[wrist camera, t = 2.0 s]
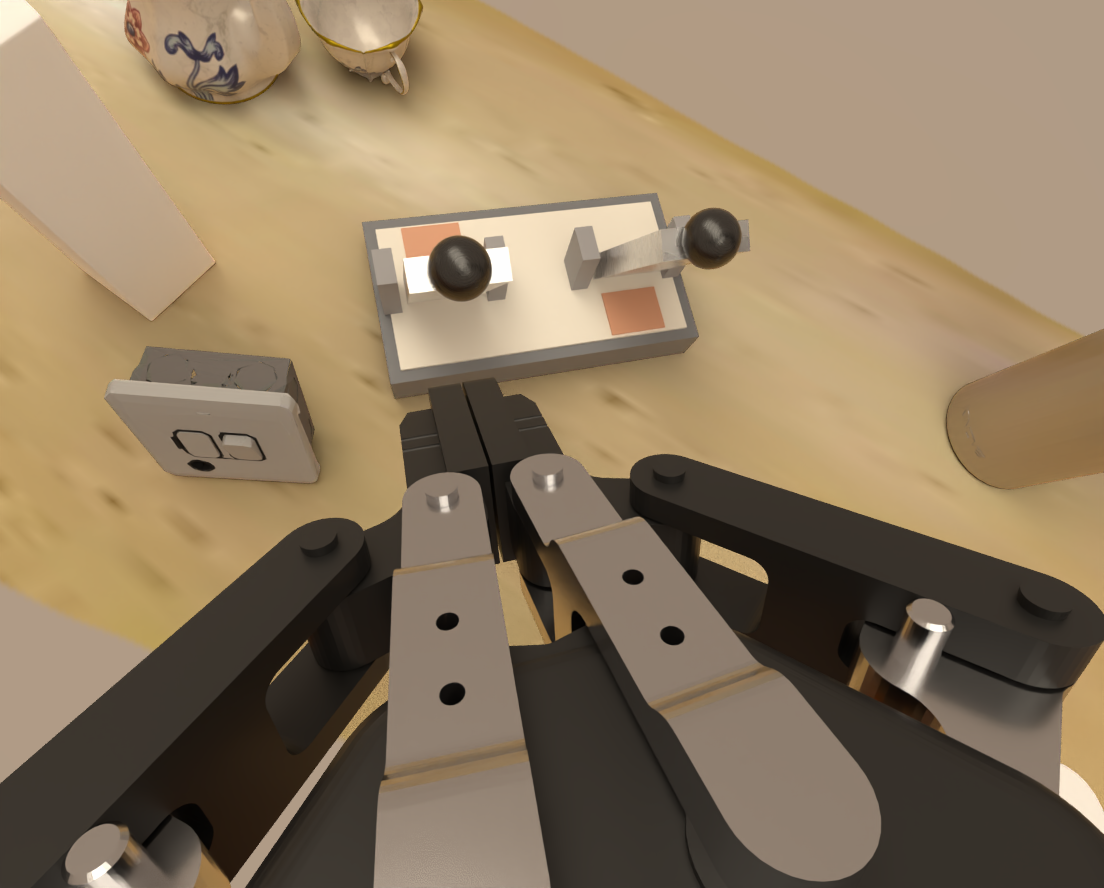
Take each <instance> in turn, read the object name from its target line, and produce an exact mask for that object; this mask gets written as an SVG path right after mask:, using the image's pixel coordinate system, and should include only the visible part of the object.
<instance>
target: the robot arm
mask: <svg viewBox="0 0 1104 888" xmlns="http://www.w3.org/2000/svg"><path fill="white" fill-rule="evenodd" d="M462 389H463V390H462ZM428 394H429V400H430V406H431V409H428V410H422V411H416V412H410V413H407V415H406V416H405V418H404V420H403V421H402V423H401V424H400V434H401V441H402V450H403V458H404V467H405V475H406V483H407V490H406V492H405V494H404V496H403V500H402V508H401V509H400V510H399V511H398V512H397V513H396V514H395V515H394V516H393V517H391V518H390V519H388V520H386V521H385V522H383V523H381V524H379V525H377V526H374V527H372V528H369V529H367V530H365V531H363V529H362V528H361V527H360V526H359V525H358V524H357V523H355V522H354V521H351V520H348V519H343V518H327V519H321V520H317V521H313V522H311V523H308V524H305V525H303V526H301V527H299V528H297V529H296V530H294V531H292V532H291V533H290V534H289V535H287V536H286V537H285V538H284V539H283V540H281V541H280V542H279V543H278V544H277V545H276V546H275V547H273V548H272V549H271V550H270V551H269V552H268V553H266V554H265V555H264V556H263V557H262V558H261V559H259V560H258V561H257V562H256V563H255V564H254V565H253V566H251V567H250V568H249V569H248V570H247V571H246V572H244V573H243V574H242V575H241V576H240V577H239V578H237V579H236V580H235V581H234V582H233V583H232V584H231V585H229V586H228V587H227V588H226V589H225V590H224V591H222V592H221V593H220V594H219V595H218V596H217V597H216V598H214V599H213V600H212V601H211V602H210V603H209V604H207V605H206V606H205V607H204V608H203V609H202V610H200V611H199V612H198V613H197V614H196V615H195V616H194V617H192V618H191V619H190V620H189V621H188V622H187V623H185V624H184V625H183V626H182V627H181V628H180V629H178V630H177V631H176V632H175V633H174V634H173V635H172V636H170V637H169V638H168V639H167V640H166V641H165V642H163V643H162V644H161V645H160V646H159V647H158V648H157V649H155V650H154V651H153V652H152V653H151V654H150V655H148V656H147V657H146V658H145V659H144V660H143V661H141V662H140V663H139V664H138V665H137V666H136V667H135V668H133V669H132V670H131V671H130V672H129V673H128V674H126V675H125V676H124V677H123V678H122V679H121V680H120V681H119V682H117V683H116V684H115V685H114V686H113V687H111V688H110V689H109V690H108V691H107V692H106V693H104V694H103V695H102V696H101V697H100V698H99V699H98V700H96V702H94V703H93V704H92V705H91V706H89V707H88V708H87V709H86V710H85V711H84V712H83V713H81V714H80V715H79V716H78V717H77V718H76V719H74V720H73V721H72V722H71V723H70V724H69V725H67V726H66V727H65V728H64V729H63V730H62V731H60V732H59V733H58V734H57V735H56V736H55V737H54V738H52V740H50V741H49V742H48V743H47V744H45V745H44V746H43V747H42V748H41V749H40V750H39V751H37V752H36V753H35V754H34V755H33V756H32V757H30V758H29V759H28V760H27V761H26V762H25V763H23V764H22V765H21V766H20V767H19V768H18V769H17V770H15V771H14V772H13V773H12V774H11V775H10V776H9V777H7V778H6V779H5V780H4V781H3V782H1V784H0V888H231V885H230V882H231V881H232V880H233V878H234V877H235V875H236V874H237V873H238V871H239V870H240V868H241V867H242V866H243V865H244V863H245V862H246V861H247V859H248V858H249V856H250V855H251V854H252V853H253V851H254V850H255V849H256V847H257V846H258V845H259V843H260V842H261V840H262V839H263V838H264V836H265V835H266V834H267V832H268V831H269V830H270V828H271V827H272V826H273V824H274V823H275V822H276V820H277V819H278V818H279V816H280V815H281V813H282V812H283V811H284V809H285V808H286V807H287V805H288V804H289V803H290V801H291V800H292V798H293V797H294V796H295V795H296V793H297V792H298V791H299V789H300V788H301V787H302V785H303V784H304V782H305V781H306V780H307V778H308V777H309V776H310V774H311V773H312V772H313V770H314V769H315V768H316V766H317V765H318V764H319V762H320V761H321V760H322V758H323V757H324V756H325V754H326V753H327V751H328V750H329V749H330V748H331V746H332V745H333V744H334V742H335V741H336V739H337V738H338V737H339V735H340V734H341V733H342V731H343V730H344V729H345V727H346V726H347V725H348V723H349V722H350V721H351V719H352V718H353V717H354V715H355V714H356V713H357V711H358V710H359V709H360V707H361V706H362V704H363V703H364V702H365V700H366V699H367V698H368V696H369V695H370V694H371V692H372V691H373V690H374V688H375V687H376V686H377V684H378V683H379V682H380V680H381V679H382V678H383V676H384V675H385V674H386V672H387V671H388V669H389V691H388V700H387V701H386V702H385V703H384V704H382V705H381V706H380V707H378V708H377V709H376V710H375V711H373V712H372V713H371V714H370V715H369V716H368V717H367V718H366V719H365V720H364V721H363V722H362V723H361V724H360V725H359V726H358V727H357V728H356V730H355V731H354V732H353V733H352V734H351V735H350V736H349V738H348V739H347V740H346V742H345V743H344V744H343V746H342V747H341V749H340V750H339V752H338V753H337V755H336V756H335V758H334V759H333V760H332V762H331V763H330V765H329V766H328V768H327V769H326V771H325V772H324V773H323V775H322V776H321V778H320V779H319V781H318V782H317V784H316V785H315V787H314V788H313V789H312V791H311V792H310V794H309V795H308V797H307V798H306V800H305V801H304V803H303V804H302V806H301V807H300V808H299V810H298V811H297V813H296V814H295V816H294V817H293V819H292V820H291V822H290V823H289V824H288V826H287V827H286V829H285V830H284V832H283V833H282V835H281V836H280V838H279V839H278V841H277V842H276V843H275V845H274V846H273V848H272V849H271V851H270V852H269V854H268V855H267V857H266V858H265V859H264V861H263V862H262V864H261V866H260V867H259V868H258V870H257V871H256V873H255V874H254V876H253V877H252V879H251V880H250V881H249V883H248V884H247V886H246V887H245V888H1104V834H1103V833H1102V832H1101V831H1100V830H1099V829H1098V828H1097V827H1096V826H1095V825H1094V824H1093V823H1092V822H1091V821H1090V820H1088V819H1087V818H1086V817H1085V816H1084V815H1083V814H1082V813H1081V812H1080V811H1078V810H1077V809H1076V808H1075V807H1073V806H1072V805H1071V804H1069V803H1068V802H1067V801H1066V800H1064V799H1063V798H1062V797H1060V796H1059V786H1060V756H1061V726H1062V702H1063V701H1064V699H1065V698H1066V696H1067V695H1068V693H1069V692H1070V690H1071V689H1072V687H1073V686H1074V684H1075V683H1076V681H1077V680H1078V678H1079V677H1080V675H1081V674H1082V672H1083V671H1084V669H1085V668H1086V666H1087V665H1088V663H1089V662H1090V660H1091V659H1092V657H1093V656H1094V654H1095V653H1096V651H1097V650H1098V648H1099V647H1100V645H1101V644H1102V643H1103V641H1104V614H1103V613H1102V611H1101V610H1100V609H1099V608H1098V606H1097V605H1096V604H1095V603H1094V602H1093V601H1092V600H1091V599H1089V598H1088V597H1087V596H1086V595H1084V594H1083V593H1082V592H1080V591H1078V590H1077V589H1075V588H1074V587H1072V586H1070V585H1068V584H1067V583H1065V582H1063V581H1061V580H1058V579H1056V578H1054V577H1051V576H1048V575H1046V574H1043V573H1040V572H1037V571H1034V570H1031V569H1027V568H1024V567H1021V566H1018V565H1015V564H1012V563H1009V562H1006V561H1003V560H1000V559H997V558H994V557H991V556H987V555H984V554H981V553H978V552H975V551H972V550H969V549H966V548H963V547H960V546H957V545H954V544H951V543H947V542H944V541H941V540H938V539H935V538H932V537H929V536H926V535H923V534H920V533H917V532H914V531H911V530H907V529H904V528H901V527H898V526H895V525H892V524H889V523H886V522H883V521H880V520H877V519H874V518H871V517H867V516H864V515H861V514H858V513H855V512H852V511H849V510H846V509H843V508H840V507H837V506H834V505H831V504H827V503H824V502H821V501H818V500H815V499H812V498H809V497H806V496H803V495H800V494H797V493H794V492H791V491H788V490H784V489H781V488H778V487H775V486H772V485H769V484H766V483H763V482H760V481H757V480H754V479H751V478H748V477H744V476H741V475H738V474H735V473H732V472H729V471H726V470H723V469H720V468H717V467H714V466H711V465H708V464H704V463H701V462H698V461H695V460H692V459H689V458H686V457H682V456H678V455H670V454H660V455H653V456H649V457H646V458H643V459H641V460H639V461H638V462H637V463H635V464H634V466H633V467H632V469H631V472H630V479H625V478H599V477H593V476H590V475H589V474H588V472H587V471H586V470H585V468H584V467H583V466H582V464H581V463H580V462H578V461H577V460H575V459H573V458H571V457H569V456H566V455H563V453H562V451H561V449H560V447H559V445H558V444H557V442H556V440H555V438H554V436H553V434H552V433H551V431H550V429H549V427H547V424H546V422H545V420H544V418H543V417H542V414H541V413H540V411H539V409H538V407H537V405H536V403H535V402H533V401H531V400H530V399H528V398H526V397H525V396H523V395H521V394H518V395H512V396H506V397H503V394H502V392H501V390H500V388H499V386H498V384H497V381H496V379H495V378H494V377H491V378H485V379H478V380H472V381H466V382H462V387H461V384H460V383H453V384H447V385H441V386H434V387H428ZM947 430H948V435H949V439H950V442H951V445H952V447H953V450H954V452H955V453H956V455H957V457H958V458H959V460H960V461H961V463H962V464H963V465H964V466H965V467H966V468H967V470H968V471H969V472H971V473H972V474H973V475H974V476H975V477H977V478H978V479H979V480H981V481H983V482H985V483H986V484H988V485H991V486H994V487H997V488H1002V489H1015V488H1022V487H1027V486H1032V485H1038V484H1043V483H1049V482H1054V481H1059V480H1066V479H1071V478H1076V477H1082V476H1087V475H1092V474H1098V473H1103V472H1104V329H1102V330H1099V331H1097V332H1095V333H1092V334H1090V335H1087V336H1085V337H1082V338H1080V339H1077V340H1075V341H1073V342H1070V343H1068V344H1065V345H1063V346H1060V347H1058V348H1055V349H1053V350H1050V351H1048V352H1046V353H1043V354H1041V355H1038V356H1036V357H1033V358H1031V359H1028V360H1026V361H1024V362H1021V363H1019V364H1016V365H1013V366H1011V367H1008V368H1006V369H1004V370H1001V371H999V372H996V373H994V374H991V375H989V376H986V377H984V378H981V379H979V380H977V381H974V382H972V383H969V384H967V385H966V386H964V387H963V388H961V389H960V390H959V391H958V392H957V393H956V394H955V396H954V397H953V399H952V401H951V403H950V405H949V409H948V414H947ZM701 539H703V540H706V541H708V542H711V543H713V544H716V545H718V546H721V547H723V548H726V549H728V550H731V551H733V552H736V553H738V554H741V555H743V556H746V557H748V558H751V559H753V560H755V561H756V562H757V563H759V564H760V565H761V566H762V567H763V568H764V570H765V571H766V573H767V575H768V580H769V581H768V584H765V583H763V582H760V581H758V580H755V579H753V578H751V577H748V576H746V575H743V574H741V573H738V572H736V571H734V570H731V569H729V568H726V567H724V566H722V565H719V564H717V563H714V562H712V561H709V560H707V559H705V558H702V557H700V556H699V553H700V544H701ZM498 546H499V550H500V553H501V556H502V559H503V562H507V561H511V560H517V563H518V566H519V573H520V583H521V590H522V593H523V595H524V597H525V600H526V602H527V604H528V606H529V609H530V611H531V613H532V616H533V618H534V620H535V622H536V625H537V627H538V629H539V632H540V634H541V636H542V638H543V641H544V643H545V645H526V646H509V644H508V639H507V633H506V627H505V621H504V615H503V609H502V603H501V597H500V591H499V586H498V580H497V574H496V568H495V564H499V563H500V559H499V550H498ZM306 640H308V644H307V645H306V646H305V647H304V648H303V649H302V650H301V651H300V652H299V653H298V655H297V656H296V657H295V658H294V659H293V660H292V661H291V662H290V663H289V664H288V665H287V667H286V668H285V669H284V670H283V671H282V672H281V673H280V674H279V675H278V676H277V678H276V679H275V680H274V681H273V682H272V683H271V681H272V679H273V677H274V676H275V674H276V673H277V672H278V671H279V670H280V668H281V667H282V666H283V665H284V664H285V663H286V662H287V661H288V660H289V659H290V658H291V657H292V655H293V654H294V653H295V652H296V651H297V650H298V649H299V648H300V647H301V646H302V645H303V643H304V642H305V641H306ZM270 683H271V684H270Z"/></svg>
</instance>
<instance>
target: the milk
mask: <svg viewBox="0 0 1104 888" xmlns="http://www.w3.org/2000/svg"><path fill="white" fill-rule="evenodd" d="M0 198H1V199H2V200H3V201H4V202H6V203H7V204H8V205H9V206H10V207H11V208H12V209H13V210H15V211H16V212H17V213H18V214H19V215H20V216H21V217H23V218H24V219H25V220H26V221H27V222H28V223H29V224H31V225H32V226H33V227H34V228H35V229H36V230H37V231H39V232H40V233H41V234H42V235H43V236H44V237H45V238H47V239H48V240H49V241H50V242H51V243H52V244H53V245H54V246H56V247H57V248H58V249H59V250H60V251H61V252H62V253H64V254H65V255H66V256H67V257H68V258H69V259H70V260H72V261H73V262H74V263H75V264H76V265H77V266H78V267H80V268H81V269H82V270H83V271H84V272H86V273H87V274H88V275H90V276H91V277H92V278H94V279H95V280H96V281H98V282H99V283H100V284H102V285H103V286H104V287H106V288H107V289H108V290H110V291H111V292H113V293H114V294H115V295H117V296H118V297H119V298H121V299H122V300H123V301H125V302H126V303H127V304H129V305H130V306H131V307H133V308H134V309H135V310H137V311H138V312H139V313H141V314H142V315H143V316H145V317H146V318H147V319H149V320H150V321H153V320H154V319H155V318H156V317H157V316H158V315H159V314H161V313H162V312H163V311H164V310H165V309H166V308H167V307H168V306H169V305H170V304H171V303H172V302H174V301H175V300H176V299H177V298H178V297H179V296H180V295H181V294H182V293H183V292H184V291H185V290H187V289H188V288H189V287H190V286H191V285H192V284H193V283H194V282H195V281H196V280H197V279H198V278H200V277H201V276H202V275H203V274H204V273H205V272H206V271H207V270H208V269H209V268H210V267H211V266H213V265H214V264H215V260H214V259H213V257H212V256H211V255H210V253H209V252H208V250H207V249H206V248H205V246H204V245H203V243H202V242H201V240H200V239H199V238H198V236H197V235H196V233H195V232H194V231H193V229H192V228H191V226H190V225H189V224H188V222H187V221H186V219H185V218H184V217H183V215H182V214H181V212H180V211H179V210H178V208H177V207H176V205H175V204H174V202H173V201H172V200H171V198H170V197H169V195H168V194H167V193H166V191H165V190H164V188H163V187H162V186H161V184H160V183H159V181H158V180H157V179H156V177H155V176H154V174H153V173H152V172H151V170H150V169H149V167H148V166H147V164H146V163H145V162H144V160H143V159H142V157H141V156H140V155H139V153H138V152H137V150H136V149H135V148H134V146H133V145H132V143H131V142H130V141H129V139H128V138H127V136H126V135H125V134H124V132H123V131H122V129H121V128H120V126H119V125H118V124H117V122H116V121H115V119H114V118H113V117H112V115H111V114H110V112H109V111H108V110H107V108H106V107H105V105H104V104H103V103H102V101H101V100H100V98H99V97H98V96H97V94H96V93H95V91H94V90H93V88H92V87H91V86H90V84H89V83H88V81H87V80H86V79H85V77H84V76H83V74H82V73H81V72H80V70H79V69H78V67H77V66H76V65H75V63H74V62H73V60H72V59H71V58H70V56H69V55H68V53H67V52H66V50H65V49H64V48H63V46H62V45H61V43H60V42H59V41H58V39H57V38H56V36H55V35H54V34H53V32H52V31H51V29H50V28H49V27H48V25H47V24H46V22H45V21H44V20H43V18H42V17H41V15H40V14H39V13H38V12H37V11H36V10H35V9H34V8H33V7H32V6H31V5H30V4H29V3H28V2H27V1H25V0H0Z"/></svg>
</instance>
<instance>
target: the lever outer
mask: <svg viewBox="0 0 1104 888" xmlns="http://www.w3.org/2000/svg"><path fill="white" fill-rule="evenodd" d="M403 281H404V287H405V292H406V298H407V303H415V302H423V301H431V300H438V299H446V298H447V299H450V300H453V301H457V302H466V301H470V300H473V299H475V298H477V297H479V296H480V295H481V294H483V293H485V292H488V291H490V290H492V289H495V288H497V287H499V286H502V285H504V284H506V283H509V282H511V281H513V279H512V272H511V265H510V258H509V251H508V247H502V248H493V249H485V248H484V247H483V246H482V245H481V244H480V243H479V242H478V241H476V240H474V239H473V238H470V237H467V236H462V235H455V236H450V237H447V238H445V239H443V240H442V241H440V242H439V243H438V244H437V245H436V246H435V247H434V248H433V250H432V252H431V254H430V256H422V257H414V258H405V259H403Z"/></svg>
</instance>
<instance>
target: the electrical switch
mask: <svg viewBox="0 0 1104 888" xmlns="http://www.w3.org/2000/svg"><path fill="white" fill-rule="evenodd" d="M166 354H167V356H165V355H166ZM185 359H186V360H185ZM260 362H262V363H260ZM263 363H264V364H263ZM289 364H290V359H286V358H275V357H264V356H252V355H241V354H229V353H218V352H206V351H195V350H183V349H172V348H161V347H149V346H146V349H145V351H144V354H143V356H142V359H141V361H140V363H139V365H138V366H137V367H136V369H135V370H134V371H133V373H132V376H131V378H130V380H121V379H113V380H112V381H111V382H110V383H109V384H108V387H107V391H106V394H105V397H104V399H105V400H106V401H107V402H108V404H109V405H110V406H111V407H112V408H113V410H114V411H115V412H116V413H117V414H118V416H119V417H120V418H121V419H122V420H123V422H124V423H125V424H126V425H127V426H128V428H129V429H130V430H131V431H132V432H133V434H134V435H135V436H136V437H137V438H138V440H139V441H140V442H141V443H142V444H143V446H144V447H145V448H146V449H147V450H148V452H149V453H150V454H151V455H152V456H153V458H154V459H155V460H156V461H157V462H158V464H159V465H160V466H161V467H162V468H163V470H164V471H166V472H169V473H171V474H174V475H179V476H195V477H212V478H229V479H246V480H263V481H280V482H297V483H313V482H315V481H317V479H318V476H319V472H320V465H319V463H318V461H317V460H316V457H315V455H314V452H313V450H312V447H311V443H312V438H313V434H314V430H315V429H314V426H313V423H312V420H311V417H310V414H309V411H308V408H307V405H306V402H305V399H304V396H303V393H302V390H301V387H300V384H299V381H298V378H297V375H296V372H295V369H294V366H293V363H292V361H291V364H290V367H289ZM288 368H289V370H288ZM274 369H275V370H274ZM193 370H194V371H195V373H196V376H194V377H193V378H191V376H192V372H193ZM239 370H240V371H239ZM237 371H239V372H238V374H237ZM287 372H288V373H287ZM230 375H231V377H230ZM229 378H230V379H229ZM226 385H228V386H226ZM237 385H238V386H239V387H240V388H241V389H239V388H238V387H237ZM269 388H270V389H269ZM268 389H269V390H268ZM267 390H268V391H267Z"/></svg>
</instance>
